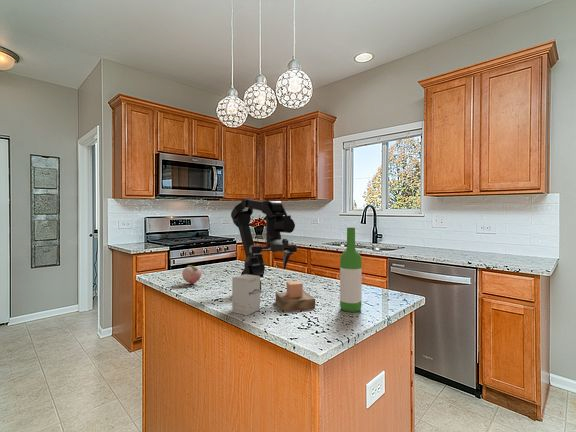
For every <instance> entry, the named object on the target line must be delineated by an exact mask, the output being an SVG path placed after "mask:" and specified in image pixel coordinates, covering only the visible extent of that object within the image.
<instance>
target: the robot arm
mask: <svg viewBox="0 0 576 432" xmlns="http://www.w3.org/2000/svg"><path fill="white" fill-rule="evenodd" d="M254 210H258V211H261V213H262V214H264V215H265V217H263V218H262V219H263V221H265V226H266V228H265V239H266V240H265V246H262V245H260V244H256V245H255V242H254V239H253V236H252V230H251V227H250V223H251V219H252V217H251V216H252V214H253V213H254ZM230 216H231V220H232V222H233V224H234V225H235V226H236V227H237V228H238V231H239V235H240V238H241V243H242V246H243V251H244V254H245V261H244V262H243V264H244V268H243V270H242V271H241V273H240V275H244V274H249V275H257V276H260V278H264V275H265V270H266V266H265V265H266V263H265V262H264V258H263V253H262V252H273V253H276V252H280V253H283V256H282V259H283V260H282V268H283V270H285V269H286V268H287V267H286V266H287V264H288V261H289V259H290V258H291V256H292V255H294V253H297V252H298V246H297V245H296V244H293V243H289V239H288V238H283V239H282V234H281V233H286V234H291V233H292V232H294V230H295V228H296V224H295V221H294V219H292V215H291V214H290V215H289V214H288V213H287V212H286V209H285V207H284V205H283V203H282V201H280V200H258V199H254V198H243V199H242V200H241V202H240V203H238V204H236V205H235V206H234V208H233V209H232V211H231V213H230ZM261 293H262V281H261V280H260V294H261Z"/></svg>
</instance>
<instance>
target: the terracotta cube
mask: <svg viewBox="0 0 576 432" xmlns="http://www.w3.org/2000/svg"><path fill="white" fill-rule="evenodd" d="M303 285H304V284H303V283H302V282H301V281H300V280H291V281H286V292H287V295H288V296H289V297H290V298H295V297H303V291H304V290H303V287H304V286H303Z"/></svg>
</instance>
